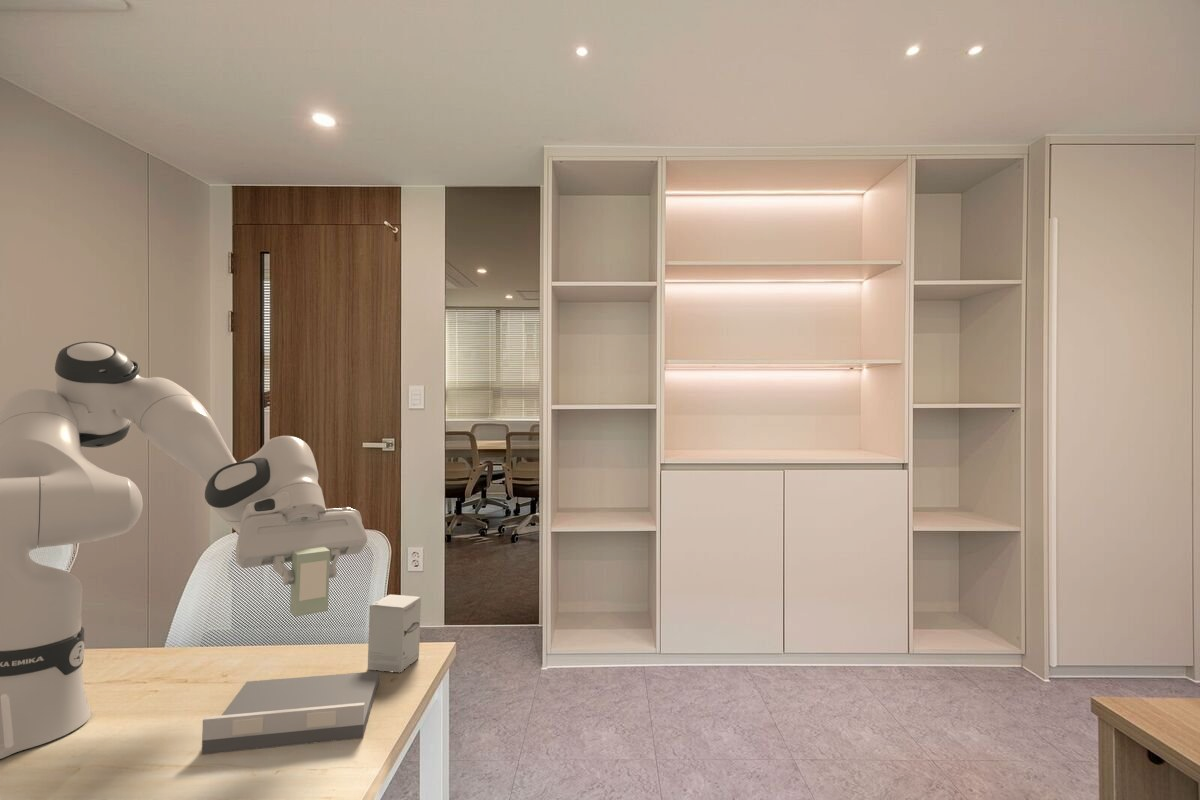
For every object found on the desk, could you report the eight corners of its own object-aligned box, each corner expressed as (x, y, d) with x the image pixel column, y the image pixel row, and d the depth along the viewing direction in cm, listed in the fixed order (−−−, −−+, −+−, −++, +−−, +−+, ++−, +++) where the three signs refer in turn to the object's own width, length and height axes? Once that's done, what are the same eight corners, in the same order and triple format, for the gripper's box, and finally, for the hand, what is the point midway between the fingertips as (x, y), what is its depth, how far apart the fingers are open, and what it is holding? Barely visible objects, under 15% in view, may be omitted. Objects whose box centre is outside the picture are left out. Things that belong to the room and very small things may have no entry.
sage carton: (295, 617, 96) (297, 554, 96) (289, 610, 98) (292, 550, 99) (328, 611, 99) (330, 550, 99) (322, 605, 102) (324, 546, 102)
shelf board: (200, 755, 86) (201, 720, 86) (246, 692, 105) (247, 664, 105) (362, 738, 91) (363, 705, 91) (378, 681, 110) (379, 654, 110)
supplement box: (401, 674, 113) (402, 607, 114) (366, 670, 115) (368, 604, 115) (420, 658, 121) (422, 596, 121) (387, 654, 122) (388, 593, 122)
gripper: (354, 516, 114) (369, 579, 107) (230, 527, 101) (237, 600, 94) (362, 496, 111) (379, 560, 103) (235, 505, 98) (243, 578, 90)
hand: (310, 579), depth 98 cm, fingers closed on sage carton, 5 cm apart
